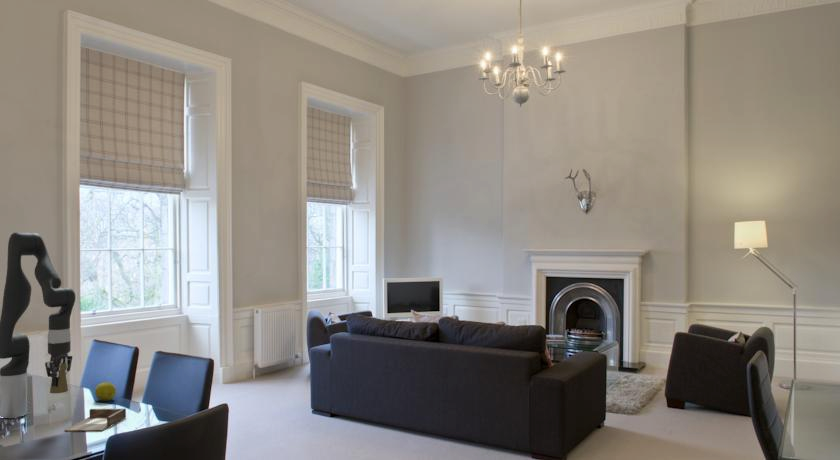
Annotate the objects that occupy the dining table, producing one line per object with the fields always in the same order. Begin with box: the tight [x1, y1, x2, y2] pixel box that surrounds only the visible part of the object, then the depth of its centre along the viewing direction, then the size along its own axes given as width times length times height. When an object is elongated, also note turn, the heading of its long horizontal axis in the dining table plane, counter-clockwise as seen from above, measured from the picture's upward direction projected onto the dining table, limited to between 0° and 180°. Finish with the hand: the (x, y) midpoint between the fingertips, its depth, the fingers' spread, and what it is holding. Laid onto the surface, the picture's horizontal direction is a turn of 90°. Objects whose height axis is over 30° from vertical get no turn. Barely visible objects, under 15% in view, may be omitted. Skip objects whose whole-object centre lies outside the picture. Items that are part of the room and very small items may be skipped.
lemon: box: [94, 381, 117, 402], centre depth 274 cm, size 11×8×8 cm
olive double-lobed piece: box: [49, 362, 69, 394], centre depth 235 cm, size 6×6×11 cm
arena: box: [64, 408, 127, 433], centre depth 238 cm, size 14×18×4 cm
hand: (58, 385), depth 235 cm, fingers closed on olive double-lobed piece, 4 cm apart
